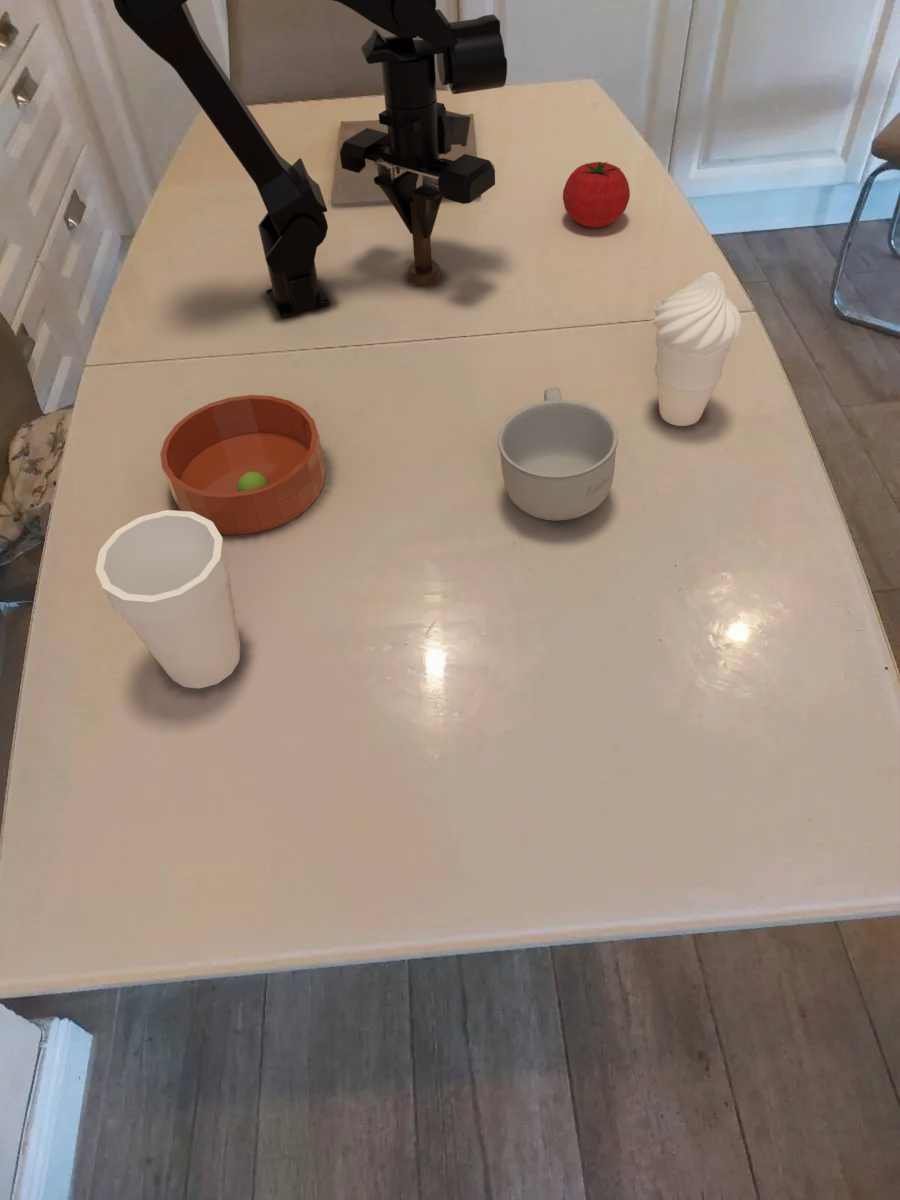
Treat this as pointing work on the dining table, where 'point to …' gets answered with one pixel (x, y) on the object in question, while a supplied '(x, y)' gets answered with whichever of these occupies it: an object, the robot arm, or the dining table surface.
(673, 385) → the ice cream cone
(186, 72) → the robot arm
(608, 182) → the tomato
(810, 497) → the dining table surface
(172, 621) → the foam cup
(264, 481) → the grape
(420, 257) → the stir stick
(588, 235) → the dining table surface
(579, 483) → the teacup
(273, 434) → the bowl
